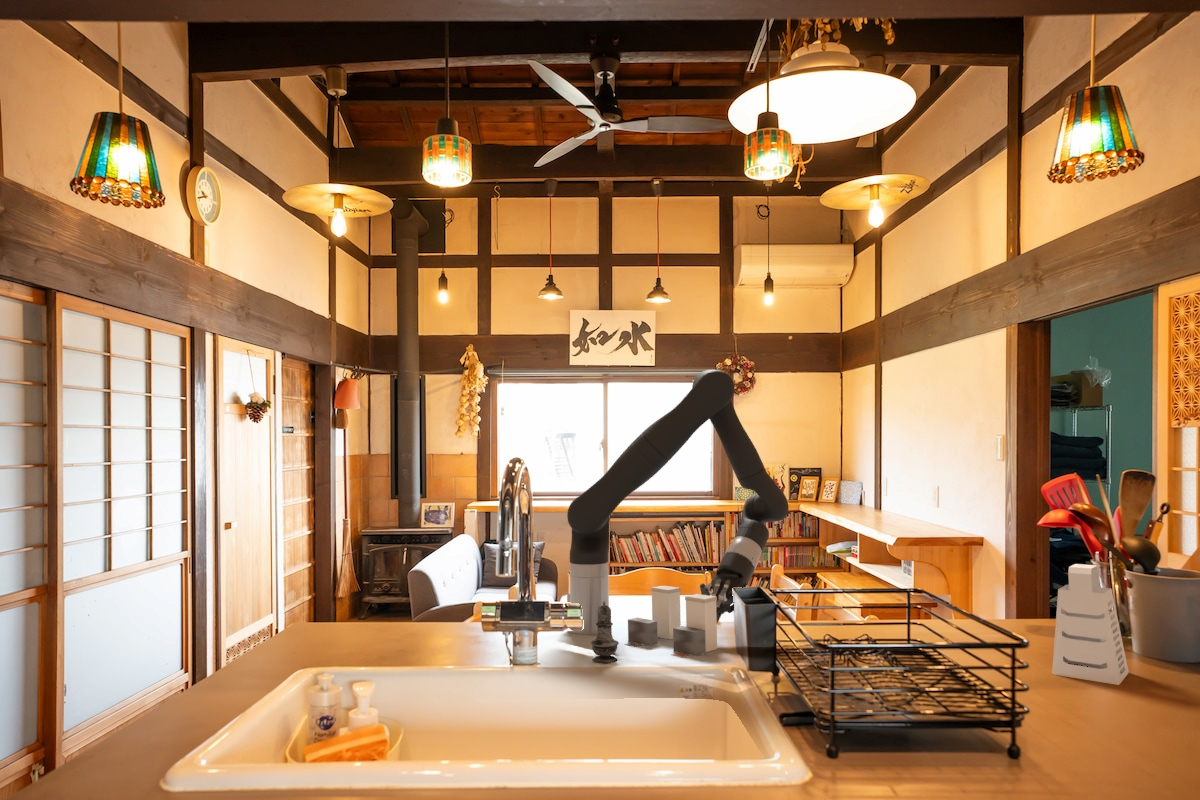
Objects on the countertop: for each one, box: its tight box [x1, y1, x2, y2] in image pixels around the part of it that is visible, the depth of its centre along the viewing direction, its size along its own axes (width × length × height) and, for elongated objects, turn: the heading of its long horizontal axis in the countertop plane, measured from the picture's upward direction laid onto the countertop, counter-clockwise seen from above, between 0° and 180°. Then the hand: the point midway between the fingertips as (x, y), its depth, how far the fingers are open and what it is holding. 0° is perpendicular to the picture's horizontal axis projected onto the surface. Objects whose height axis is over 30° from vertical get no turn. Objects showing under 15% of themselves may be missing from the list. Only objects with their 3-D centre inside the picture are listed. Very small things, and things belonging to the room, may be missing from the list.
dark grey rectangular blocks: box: [624, 617, 706, 658], centre depth 163 cm, size 25×20×6 cm
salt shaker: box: [590, 601, 620, 665], centre depth 154 cm, size 6×6×12 cm
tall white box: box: [684, 593, 718, 653], centre depth 158 cm, size 5×4×11 cm
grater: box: [1051, 563, 1130, 686], centre depth 141 cm, size 10×10×20 cm
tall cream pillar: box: [650, 585, 682, 640], centre depth 170 cm, size 5×4×11 cm
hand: (708, 624), depth 160 cm, fingers closed
